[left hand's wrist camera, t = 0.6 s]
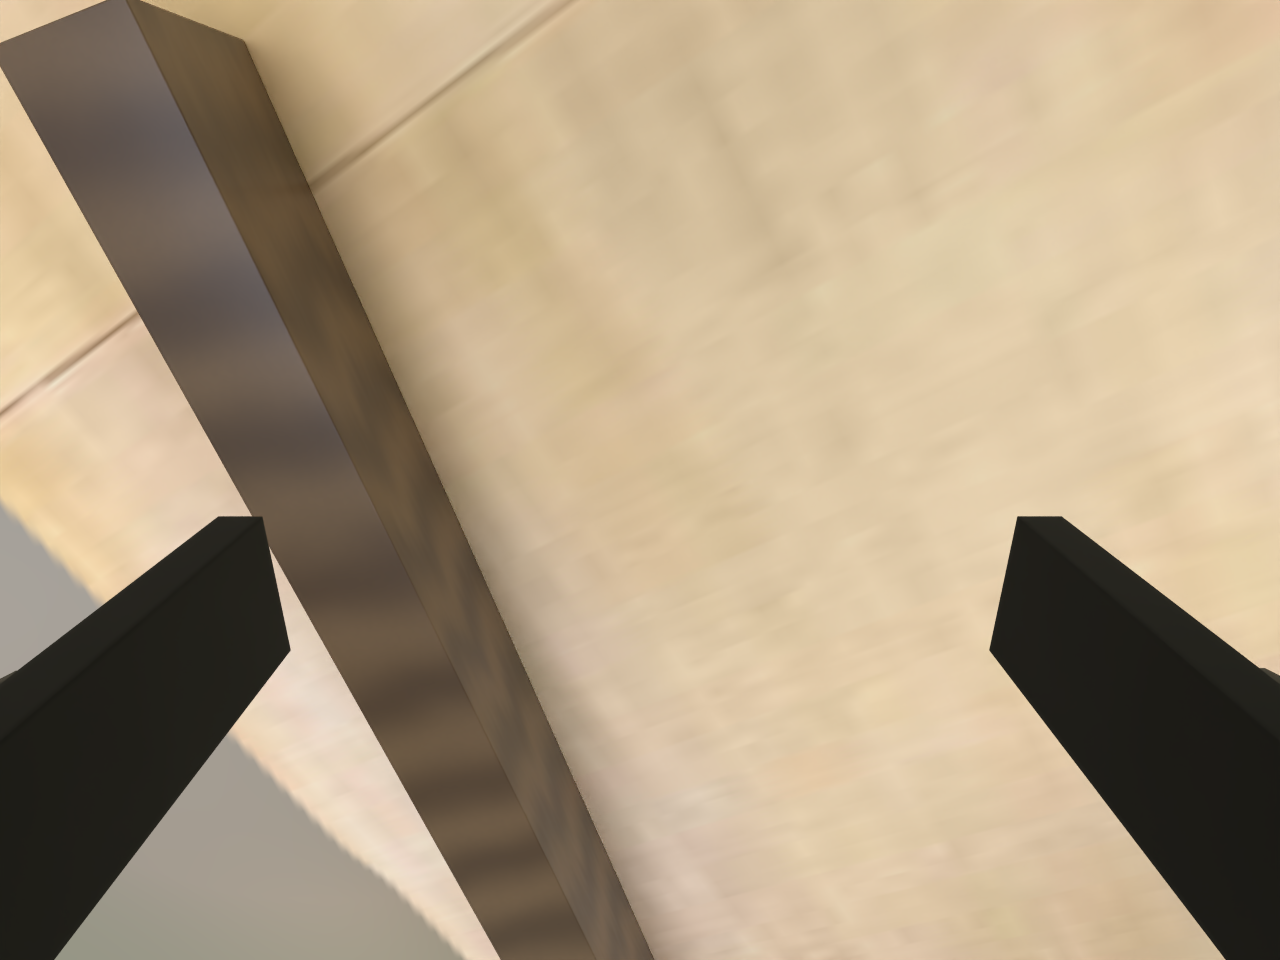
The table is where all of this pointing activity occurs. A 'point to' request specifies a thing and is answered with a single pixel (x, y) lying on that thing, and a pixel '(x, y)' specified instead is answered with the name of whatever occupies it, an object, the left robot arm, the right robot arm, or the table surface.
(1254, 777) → the left robot arm
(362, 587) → the beam
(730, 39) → the table surface
